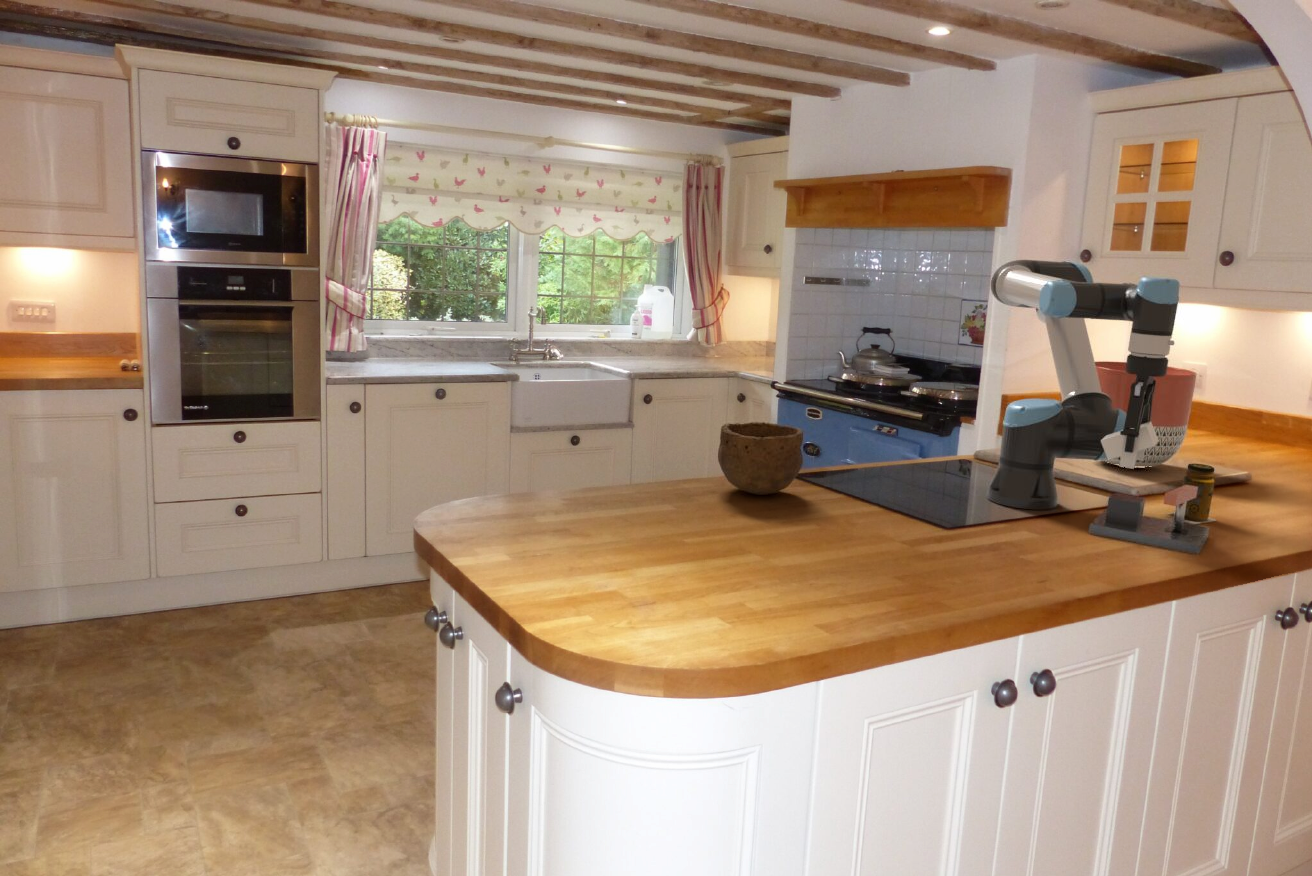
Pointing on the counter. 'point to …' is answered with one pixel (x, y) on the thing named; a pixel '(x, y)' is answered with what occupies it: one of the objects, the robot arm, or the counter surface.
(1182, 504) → the t key
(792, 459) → the bowl
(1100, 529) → the latch plate
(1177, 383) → the planter
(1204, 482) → the condiment
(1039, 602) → the counter surface
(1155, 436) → the cover
